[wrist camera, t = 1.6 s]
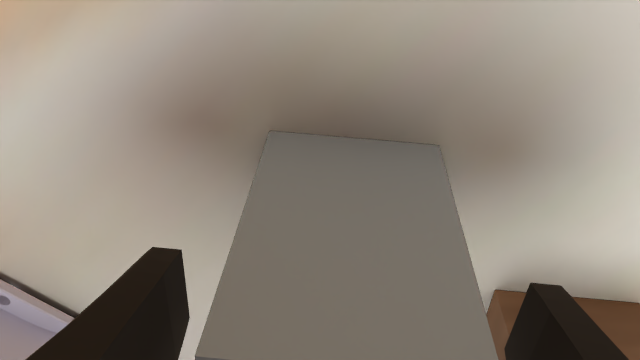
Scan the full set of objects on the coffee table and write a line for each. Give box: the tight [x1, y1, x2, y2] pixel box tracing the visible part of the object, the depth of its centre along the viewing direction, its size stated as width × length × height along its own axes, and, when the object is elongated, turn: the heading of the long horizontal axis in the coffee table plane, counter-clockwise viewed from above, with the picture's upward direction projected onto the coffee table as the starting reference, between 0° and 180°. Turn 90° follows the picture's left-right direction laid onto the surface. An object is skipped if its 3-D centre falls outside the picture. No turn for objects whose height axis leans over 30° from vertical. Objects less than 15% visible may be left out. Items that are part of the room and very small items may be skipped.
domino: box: [195, 131, 498, 360], centre depth 12 cm, size 2×5×8 cm, turn 87°
